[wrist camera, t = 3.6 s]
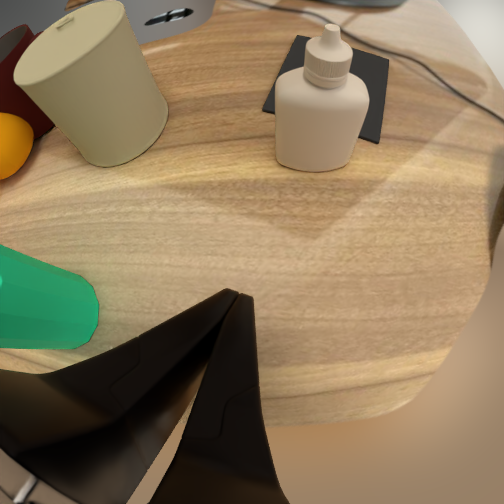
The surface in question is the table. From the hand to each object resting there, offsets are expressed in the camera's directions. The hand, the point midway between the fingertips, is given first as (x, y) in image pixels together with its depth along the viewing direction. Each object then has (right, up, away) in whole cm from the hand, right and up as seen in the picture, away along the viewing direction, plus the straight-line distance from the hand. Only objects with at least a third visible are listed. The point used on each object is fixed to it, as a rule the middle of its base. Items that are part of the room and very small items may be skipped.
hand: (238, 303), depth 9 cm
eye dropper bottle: (+5, +9, +14) cm, 17 cm away
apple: (-26, +12, +17) cm, 33 cm away
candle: (-14, -3, +12) cm, 19 cm away
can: (-12, +13, +16) cm, 24 cm away
